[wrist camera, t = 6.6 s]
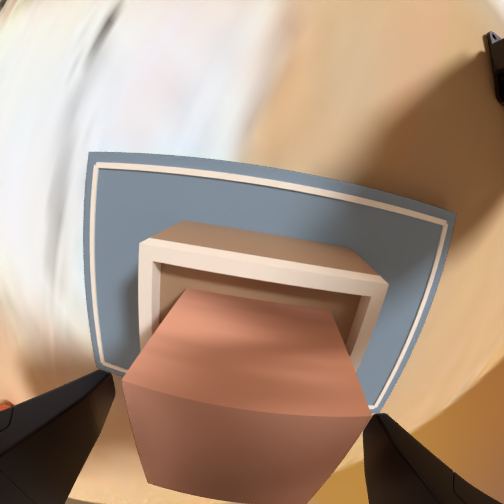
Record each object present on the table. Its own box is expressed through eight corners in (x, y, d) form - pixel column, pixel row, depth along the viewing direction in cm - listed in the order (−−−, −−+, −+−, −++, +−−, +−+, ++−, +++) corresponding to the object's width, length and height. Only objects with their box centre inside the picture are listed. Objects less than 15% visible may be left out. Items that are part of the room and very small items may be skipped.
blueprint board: (447, 211, 13) (516, 231, 7) (375, 403, 16) (397, 463, 11) (98, 152, 13) (26, 148, 8) (102, 359, 17) (62, 409, 11)
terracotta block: (330, 309, 9) (371, 415, 4) (297, 408, 11) (304, 505, 6) (187, 287, 9) (121, 380, 5) (183, 390, 11) (147, 482, 6)
